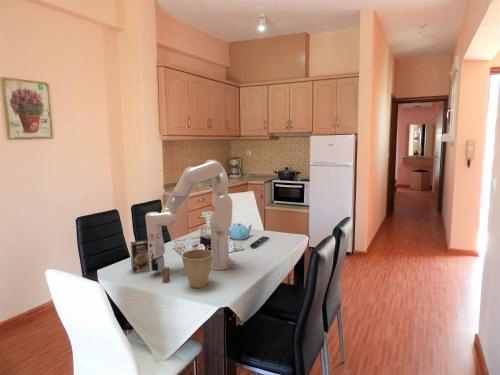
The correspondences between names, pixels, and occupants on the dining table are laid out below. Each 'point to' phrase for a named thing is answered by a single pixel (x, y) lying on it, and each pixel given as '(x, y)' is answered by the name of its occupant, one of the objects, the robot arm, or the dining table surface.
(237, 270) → the dining table surface
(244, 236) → the teapot
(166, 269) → the post
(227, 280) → the dining table surface
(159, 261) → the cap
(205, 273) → the plant pot
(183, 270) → the short post
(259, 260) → the dining table surface
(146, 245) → the coffee box
